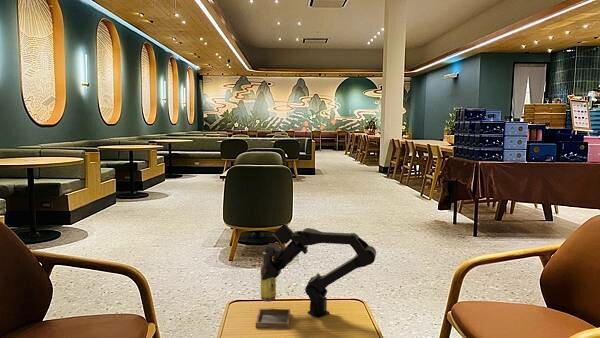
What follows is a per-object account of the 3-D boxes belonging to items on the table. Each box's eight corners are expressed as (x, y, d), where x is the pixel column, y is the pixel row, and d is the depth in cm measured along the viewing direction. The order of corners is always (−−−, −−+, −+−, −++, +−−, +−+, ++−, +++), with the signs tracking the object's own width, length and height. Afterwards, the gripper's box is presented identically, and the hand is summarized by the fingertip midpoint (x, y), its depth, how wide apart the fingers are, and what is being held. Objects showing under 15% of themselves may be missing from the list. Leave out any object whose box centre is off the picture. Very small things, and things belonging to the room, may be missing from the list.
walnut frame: (259, 313, 182) (259, 309, 182) (290, 313, 182) (290, 309, 182) (255, 327, 170) (255, 322, 170) (288, 328, 170) (288, 323, 170)
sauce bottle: (274, 302, 184) (273, 255, 181) (259, 302, 185) (258, 255, 182) (277, 296, 190) (276, 250, 188) (262, 295, 191) (261, 250, 188)
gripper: (282, 232, 193) (258, 255, 196) (269, 244, 175) (243, 269, 179) (301, 251, 192) (276, 274, 195) (289, 265, 174) (262, 290, 177)
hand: (264, 276), depth 187 cm, fingers closed on sauce bottle, 6 cm apart
